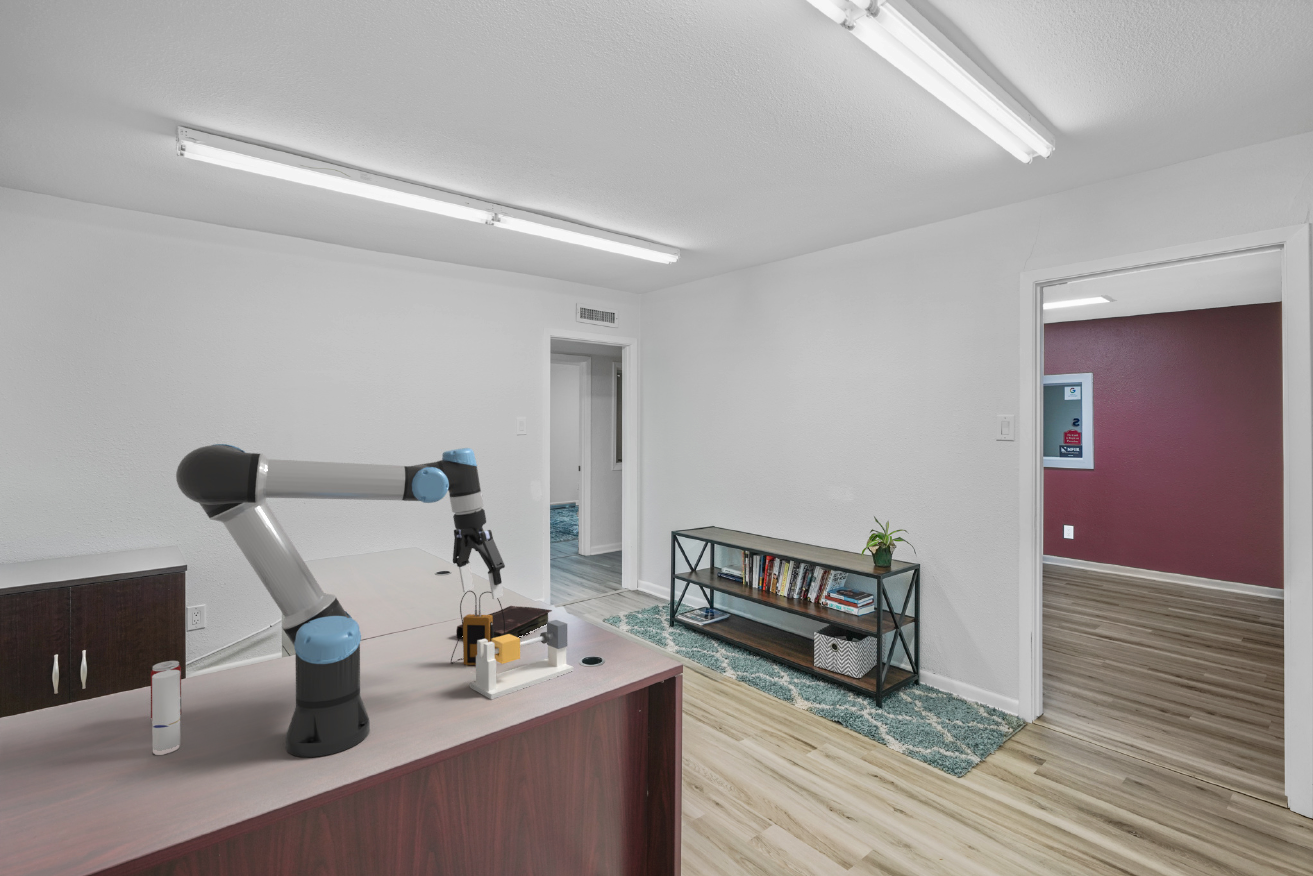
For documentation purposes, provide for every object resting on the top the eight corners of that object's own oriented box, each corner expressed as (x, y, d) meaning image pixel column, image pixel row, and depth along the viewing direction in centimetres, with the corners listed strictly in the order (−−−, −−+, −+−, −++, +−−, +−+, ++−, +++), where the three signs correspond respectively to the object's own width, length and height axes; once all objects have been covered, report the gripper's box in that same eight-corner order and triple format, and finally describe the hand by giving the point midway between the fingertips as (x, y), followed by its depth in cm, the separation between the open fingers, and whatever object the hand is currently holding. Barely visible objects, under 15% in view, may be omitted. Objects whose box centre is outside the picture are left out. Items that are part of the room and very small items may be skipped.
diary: (455, 641, 189) (455, 624, 189) (509, 619, 211) (508, 604, 211) (504, 649, 180) (503, 631, 180) (554, 625, 203) (554, 610, 203)
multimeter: (514, 653, 175) (514, 583, 175) (502, 667, 165) (502, 592, 165) (464, 652, 177) (464, 582, 177) (449, 665, 167) (449, 591, 167)
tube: (177, 742, 125) (176, 668, 125) (183, 749, 122) (182, 673, 122) (150, 750, 122) (149, 674, 122) (155, 757, 119) (155, 680, 119)
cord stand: (491, 699, 145) (491, 648, 145) (470, 687, 152) (469, 638, 152) (573, 671, 162) (573, 625, 162) (550, 661, 169) (550, 617, 169)
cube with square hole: (502, 664, 150) (502, 643, 150) (491, 658, 153) (491, 638, 153) (520, 658, 153) (520, 638, 153) (509, 653, 157) (509, 633, 157)
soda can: (145, 725, 132) (145, 669, 132) (158, 715, 137) (157, 661, 137) (174, 722, 134) (174, 667, 134) (185, 712, 139) (185, 658, 139)
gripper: (510, 508, 147) (524, 594, 149) (456, 505, 164) (470, 583, 166) (482, 516, 142) (497, 605, 144) (430, 512, 159) (444, 592, 161)
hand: (483, 593), depth 155 cm, fingers open, 13 cm apart
